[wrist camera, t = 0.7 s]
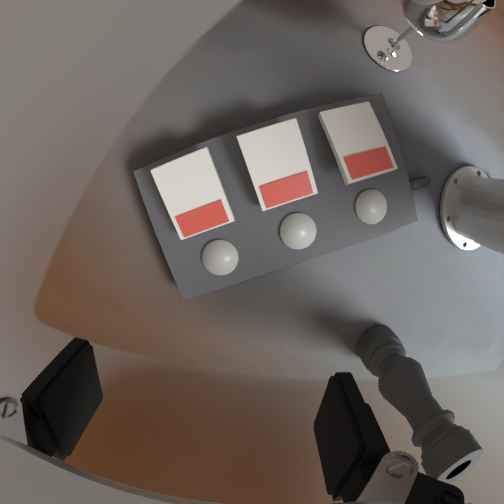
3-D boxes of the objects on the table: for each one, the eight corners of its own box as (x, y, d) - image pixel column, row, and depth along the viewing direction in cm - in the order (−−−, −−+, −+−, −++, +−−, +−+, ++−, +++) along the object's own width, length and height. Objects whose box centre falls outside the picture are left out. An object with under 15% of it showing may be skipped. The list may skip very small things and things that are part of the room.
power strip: (399, 94, 30) (411, 88, 27) (431, 207, 34) (445, 210, 31) (142, 171, 33) (132, 171, 29) (188, 291, 36) (183, 301, 33)
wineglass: (389, 81, 30) (487, 27, 11) (351, 37, 28) (422, -46, 9) (421, 60, 29) (512, 12, 9) (386, 19, 27) (459, -50, 8)
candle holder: (348, 347, 39) (420, 487, 15) (379, 317, 38) (479, 441, 14) (371, 366, 40) (440, 491, 16) (400, 339, 39) (489, 453, 15)
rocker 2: (293, 118, 27) (296, 118, 25) (314, 190, 30) (318, 193, 29) (236, 136, 27) (236, 136, 26) (261, 208, 31) (262, 211, 29)
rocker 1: (207, 146, 27) (206, 147, 26) (234, 217, 31) (234, 221, 30) (153, 168, 28) (149, 170, 26) (182, 235, 31) (180, 240, 30)
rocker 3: (365, 105, 28) (369, 100, 26) (393, 170, 28) (398, 168, 27) (317, 116, 28) (319, 111, 27) (345, 185, 28) (348, 182, 27)
